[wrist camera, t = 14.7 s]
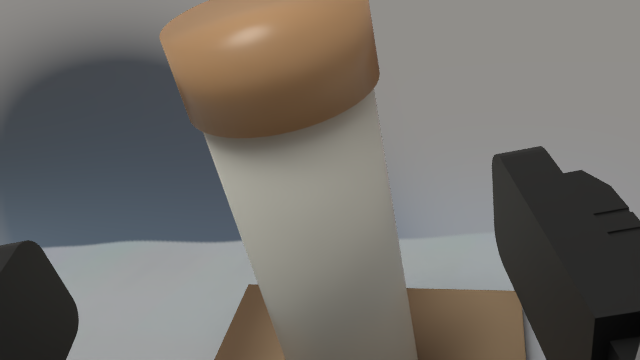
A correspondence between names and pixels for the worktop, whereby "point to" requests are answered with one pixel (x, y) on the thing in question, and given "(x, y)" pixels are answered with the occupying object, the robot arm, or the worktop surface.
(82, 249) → the worktop surface
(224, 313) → the worktop surface
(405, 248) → the worktop surface
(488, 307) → the pad
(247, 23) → the plug
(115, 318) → the worktop surface
